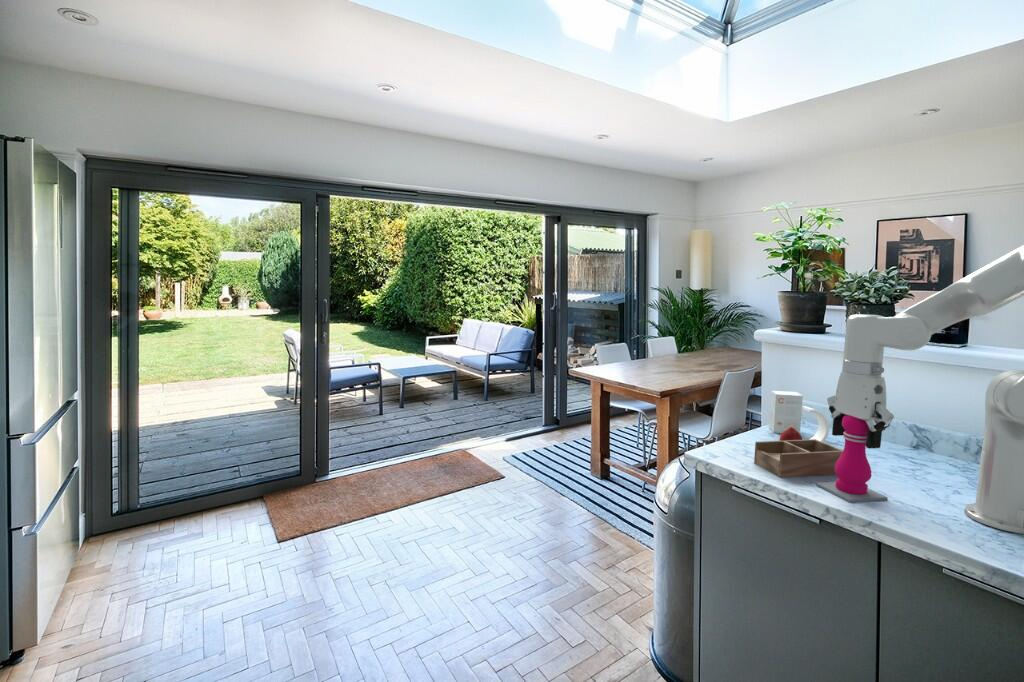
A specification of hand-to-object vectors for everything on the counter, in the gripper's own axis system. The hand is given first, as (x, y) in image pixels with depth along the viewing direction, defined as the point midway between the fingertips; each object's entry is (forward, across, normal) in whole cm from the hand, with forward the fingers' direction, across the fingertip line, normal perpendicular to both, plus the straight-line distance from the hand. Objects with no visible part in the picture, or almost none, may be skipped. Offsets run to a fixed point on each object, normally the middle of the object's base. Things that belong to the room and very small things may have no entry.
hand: (855, 441), depth 121 cm
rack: (+12, +16, +1) cm, 20 cm away
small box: (+12, +48, -20) cm, 54 cm away
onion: (+12, +28, -6) cm, 31 cm away
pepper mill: (+12, 0, 0) cm, 12 cm away
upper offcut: (+11, +16, +6) cm, 20 cm away
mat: (+12, 0, 0) cm, 12 cm away
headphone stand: (+12, +32, -17) cm, 38 cm away
